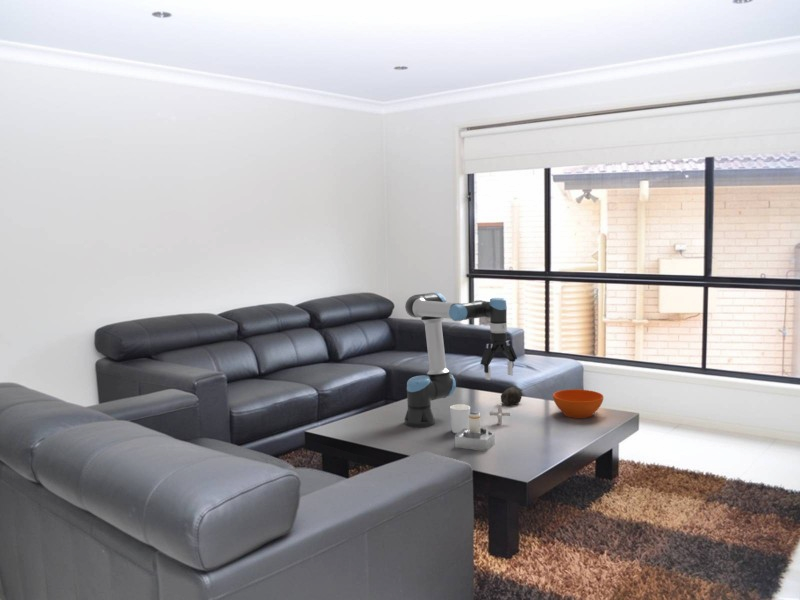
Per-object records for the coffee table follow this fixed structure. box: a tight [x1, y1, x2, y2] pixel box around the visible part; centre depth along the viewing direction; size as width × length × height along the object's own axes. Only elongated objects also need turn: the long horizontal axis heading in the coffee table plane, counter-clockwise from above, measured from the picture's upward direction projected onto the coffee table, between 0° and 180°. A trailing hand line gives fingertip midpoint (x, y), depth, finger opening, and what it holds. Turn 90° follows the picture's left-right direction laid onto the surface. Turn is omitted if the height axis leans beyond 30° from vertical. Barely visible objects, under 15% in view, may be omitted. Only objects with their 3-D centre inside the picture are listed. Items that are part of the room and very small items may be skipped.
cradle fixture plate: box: [454, 426, 496, 452], centre depth 327 cm, size 15×11×7 cm
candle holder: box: [449, 403, 471, 434], centre depth 349 cm, size 10×10×12 cm
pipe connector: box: [489, 403, 511, 425], centre depth 359 cm, size 10×10×10 cm
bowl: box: [552, 388, 604, 419], centre depth 371 cm, size 25×25×10 cm
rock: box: [500, 386, 523, 406], centre depth 395 cm, size 10×11×10 cm
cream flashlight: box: [469, 410, 482, 435], centre depth 326 cm, size 5×5×10 cm
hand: (499, 377), depth 334 cm, fingers open, 13 cm apart
